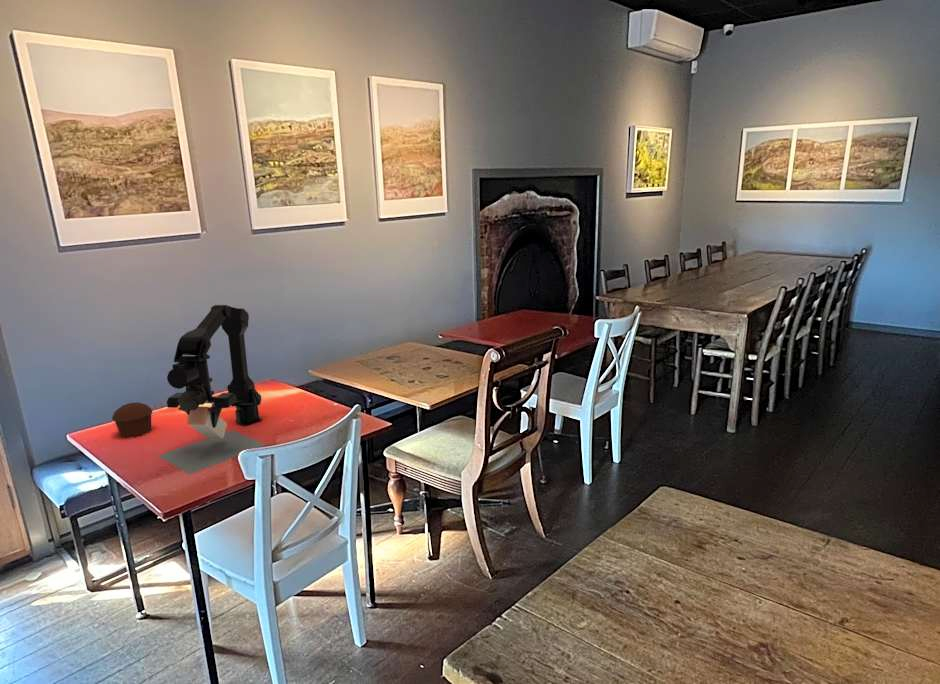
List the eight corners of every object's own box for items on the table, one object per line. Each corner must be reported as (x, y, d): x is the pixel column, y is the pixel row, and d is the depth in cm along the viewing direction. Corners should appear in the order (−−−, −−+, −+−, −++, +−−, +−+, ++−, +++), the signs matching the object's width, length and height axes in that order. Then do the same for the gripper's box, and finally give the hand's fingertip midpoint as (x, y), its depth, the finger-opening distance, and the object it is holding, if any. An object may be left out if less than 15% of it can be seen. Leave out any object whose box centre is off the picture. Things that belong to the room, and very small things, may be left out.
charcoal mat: (232, 431, 192) (232, 430, 192) (266, 446, 180) (266, 444, 180) (157, 456, 174) (157, 455, 174) (189, 475, 162) (189, 474, 162)
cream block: (211, 423, 181) (191, 406, 170) (227, 423, 181) (207, 406, 169) (207, 438, 178) (186, 422, 167) (223, 439, 178) (203, 422, 167)
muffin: (149, 423, 201) (144, 396, 198) (160, 431, 193) (156, 403, 191) (110, 434, 192) (105, 405, 190) (121, 443, 185) (115, 413, 182)
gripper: (151, 386, 162) (160, 437, 166) (215, 386, 161) (222, 438, 164) (174, 374, 173) (182, 422, 177) (234, 374, 171) (240, 423, 175)
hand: (206, 427), depth 173 cm, fingers closed on cream block, 5 cm apart
